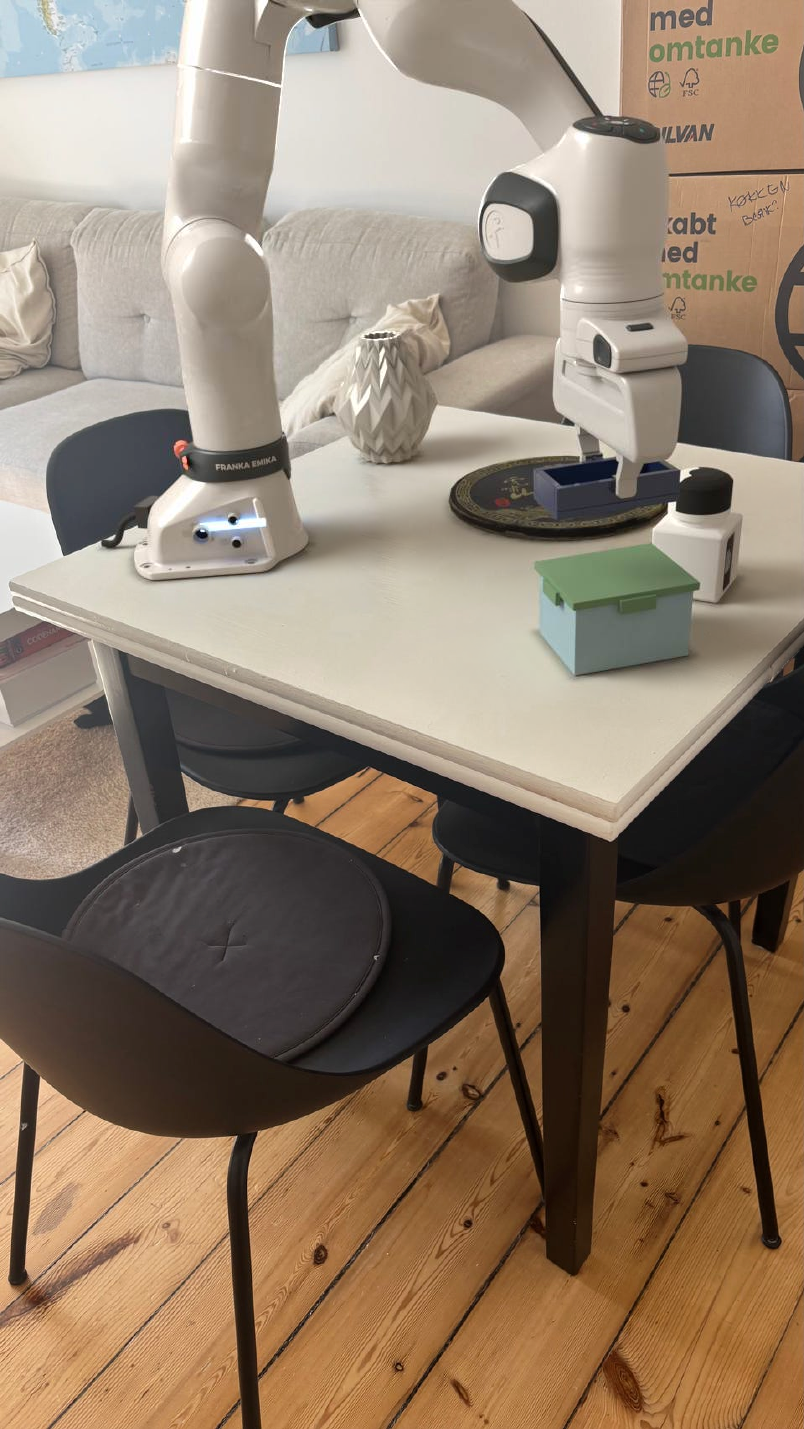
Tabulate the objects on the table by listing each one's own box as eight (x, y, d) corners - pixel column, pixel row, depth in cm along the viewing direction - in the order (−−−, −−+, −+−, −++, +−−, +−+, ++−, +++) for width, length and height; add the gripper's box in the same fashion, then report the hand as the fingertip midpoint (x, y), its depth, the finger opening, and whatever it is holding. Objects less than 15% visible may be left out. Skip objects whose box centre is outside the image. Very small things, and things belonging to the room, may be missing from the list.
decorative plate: (450, 534, 132) (446, 459, 157) (451, 548, 133) (447, 472, 158) (693, 522, 130) (649, 449, 156) (691, 537, 131) (648, 462, 157)
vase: (323, 453, 171) (311, 334, 162) (415, 435, 176) (408, 319, 167) (360, 480, 158) (349, 353, 149) (458, 460, 163) (453, 336, 154)
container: (737, 577, 119) (748, 465, 113) (717, 604, 114) (728, 488, 107) (670, 567, 123) (677, 458, 116) (648, 593, 117) (654, 480, 111)
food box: (569, 681, 102) (570, 605, 97) (529, 631, 111) (529, 560, 107) (699, 658, 104) (706, 583, 100) (649, 610, 114) (653, 541, 110)
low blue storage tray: (557, 520, 96) (557, 489, 95) (533, 499, 102) (533, 468, 100) (678, 501, 98) (680, 470, 97) (649, 481, 104) (651, 451, 102)
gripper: (536, 314, 100) (537, 456, 107) (624, 356, 83) (619, 523, 90) (598, 306, 101) (595, 448, 108) (698, 346, 84) (687, 512, 91)
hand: (607, 482), depth 99 cm, fingers closed on low blue storage tray, 6 cm apart
